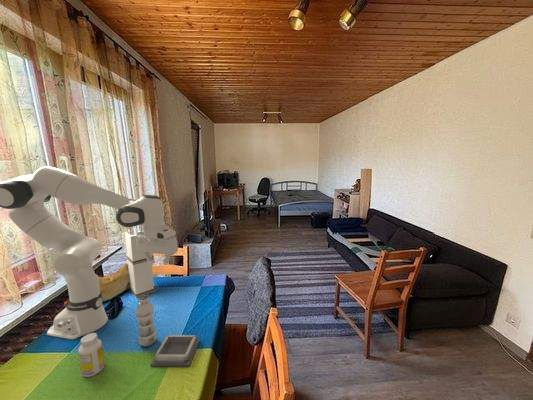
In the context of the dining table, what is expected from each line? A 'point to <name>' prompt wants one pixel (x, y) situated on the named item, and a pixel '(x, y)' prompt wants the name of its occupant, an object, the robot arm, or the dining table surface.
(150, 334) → the silver bottle
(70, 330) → the robot arm
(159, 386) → the dining table surface
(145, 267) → the beige notched post
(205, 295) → the dining table surface
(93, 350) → the supplement bottle
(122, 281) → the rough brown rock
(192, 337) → the grey square tray
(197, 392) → the dining table surface
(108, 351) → the dining table surface
